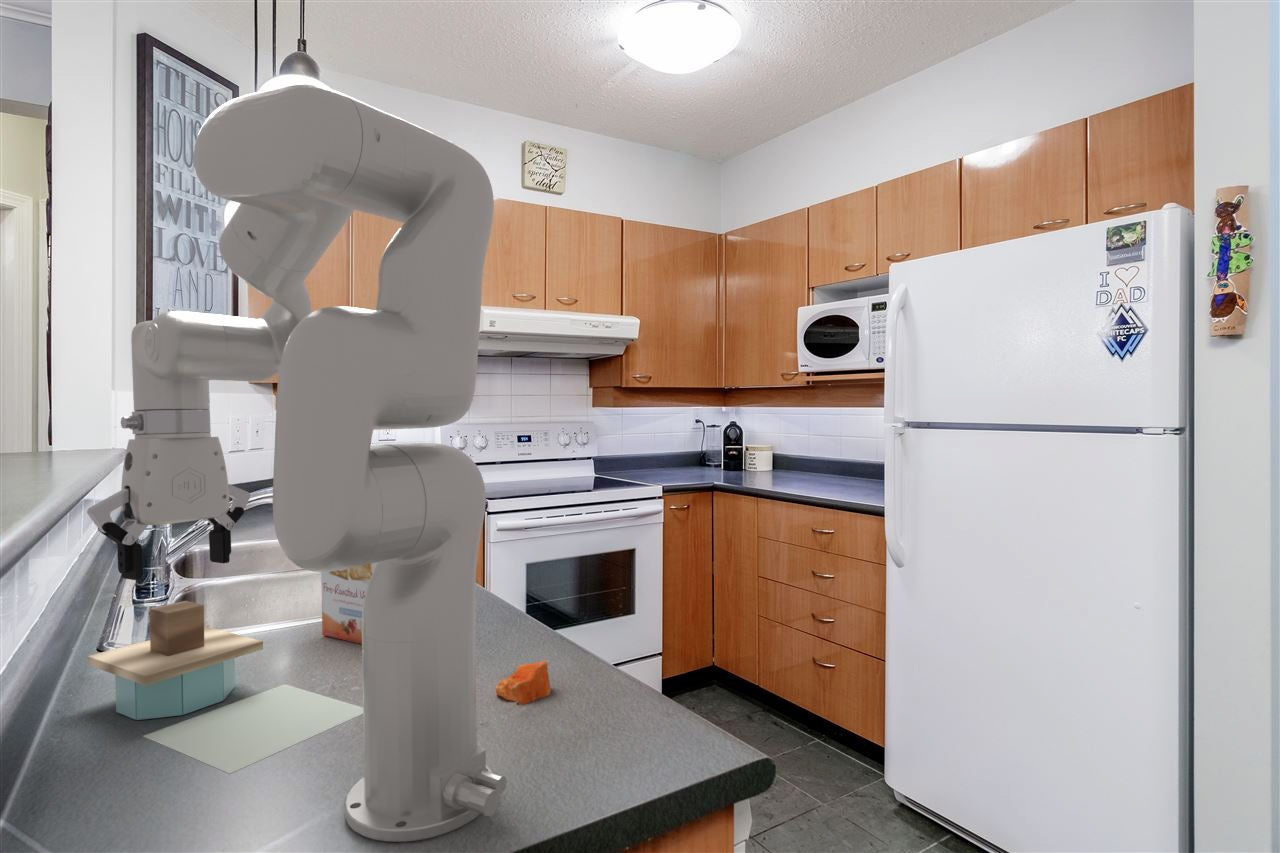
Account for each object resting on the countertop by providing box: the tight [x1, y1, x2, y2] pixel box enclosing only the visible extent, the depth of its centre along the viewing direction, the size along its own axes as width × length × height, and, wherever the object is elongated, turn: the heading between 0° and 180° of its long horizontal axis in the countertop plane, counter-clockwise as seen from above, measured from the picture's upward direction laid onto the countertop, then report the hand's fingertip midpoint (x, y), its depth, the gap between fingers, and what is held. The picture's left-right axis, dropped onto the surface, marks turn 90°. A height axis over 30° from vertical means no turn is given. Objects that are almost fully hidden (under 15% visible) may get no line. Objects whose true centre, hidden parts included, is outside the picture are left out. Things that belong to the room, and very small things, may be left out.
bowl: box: [114, 658, 236, 721], centre depth 83 cm, size 11×11×6 cm
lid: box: [86, 600, 264, 686], centre depth 83 cm, size 13×13×6 cm
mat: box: [142, 683, 363, 775], centre depth 76 cm, size 16×16×1 cm
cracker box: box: [320, 562, 378, 645], centre depth 106 cm, size 14×6×21 cm, turn 62°
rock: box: [495, 660, 552, 706], centre depth 85 cm, size 12×12×4 cm
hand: (178, 570), depth 82 cm, fingers open, 9 cm apart
